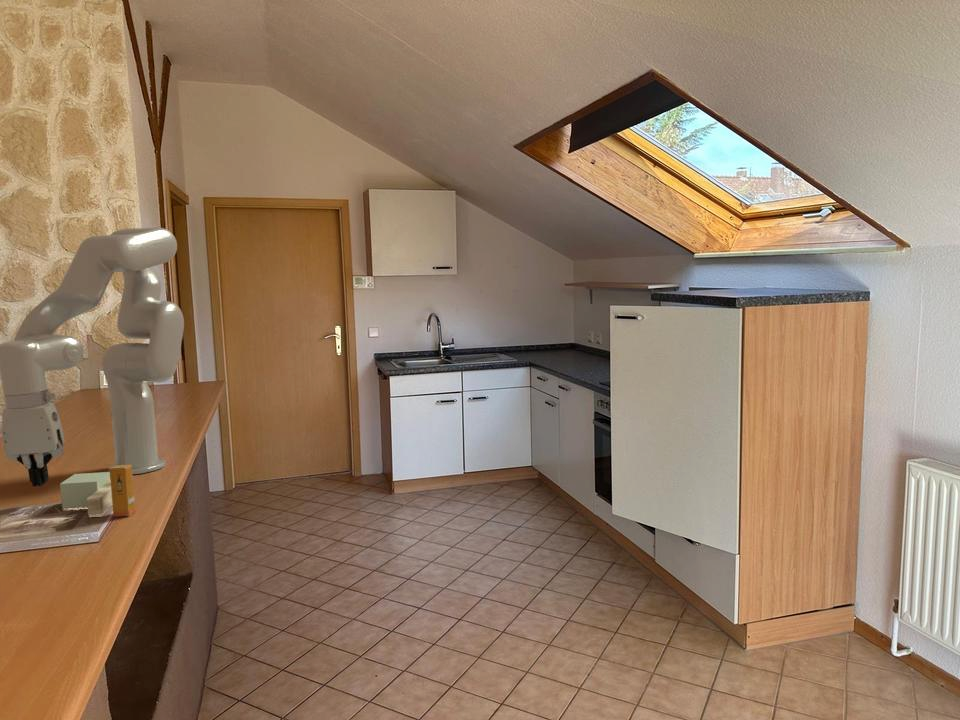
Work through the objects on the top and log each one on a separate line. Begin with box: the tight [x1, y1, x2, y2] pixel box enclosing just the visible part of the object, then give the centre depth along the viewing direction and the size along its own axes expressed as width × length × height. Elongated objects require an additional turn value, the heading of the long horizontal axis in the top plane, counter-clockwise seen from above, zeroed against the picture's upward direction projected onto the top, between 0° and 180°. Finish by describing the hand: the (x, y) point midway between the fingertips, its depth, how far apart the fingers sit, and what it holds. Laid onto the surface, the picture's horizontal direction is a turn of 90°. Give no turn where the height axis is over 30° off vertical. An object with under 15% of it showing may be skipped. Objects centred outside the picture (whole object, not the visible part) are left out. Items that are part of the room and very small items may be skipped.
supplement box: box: [110, 465, 137, 518], centre depth 136 cm, size 3×3×10 cm
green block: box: [59, 471, 110, 508], centre depth 142 cm, size 7×7×6 cm
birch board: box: [87, 480, 112, 515], centre depth 143 cm, size 18×2×4 cm, turn 9°
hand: (40, 484), depth 143 cm, fingers closed
